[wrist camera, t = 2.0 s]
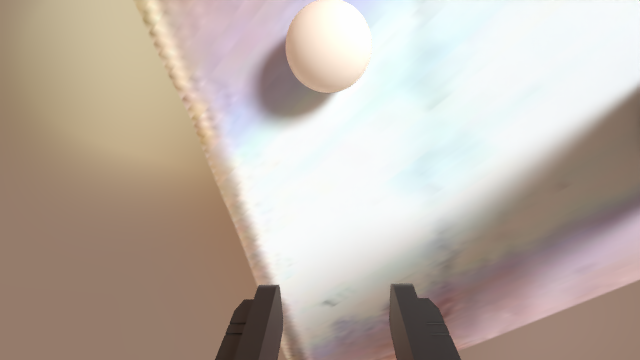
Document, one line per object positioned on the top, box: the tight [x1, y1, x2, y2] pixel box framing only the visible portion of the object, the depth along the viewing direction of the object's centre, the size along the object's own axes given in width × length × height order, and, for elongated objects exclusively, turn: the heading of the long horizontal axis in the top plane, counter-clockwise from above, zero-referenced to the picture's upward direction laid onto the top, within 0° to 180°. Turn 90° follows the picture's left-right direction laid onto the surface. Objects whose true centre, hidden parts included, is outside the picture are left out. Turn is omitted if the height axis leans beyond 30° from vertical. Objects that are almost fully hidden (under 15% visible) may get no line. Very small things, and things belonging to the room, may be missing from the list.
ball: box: [286, 0, 372, 93], centre depth 20 cm, size 6×6×6 cm
